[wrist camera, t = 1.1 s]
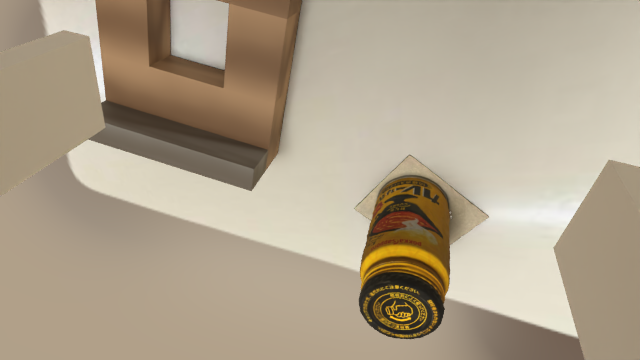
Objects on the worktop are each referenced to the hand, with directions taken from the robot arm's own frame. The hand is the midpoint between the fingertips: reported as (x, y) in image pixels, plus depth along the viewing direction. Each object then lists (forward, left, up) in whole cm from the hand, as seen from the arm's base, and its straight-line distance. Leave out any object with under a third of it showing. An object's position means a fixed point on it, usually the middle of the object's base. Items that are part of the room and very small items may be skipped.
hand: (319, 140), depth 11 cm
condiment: (+16, +7, -21) cm, 27 cm away
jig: (+7, -13, -21) cm, 26 cm away
